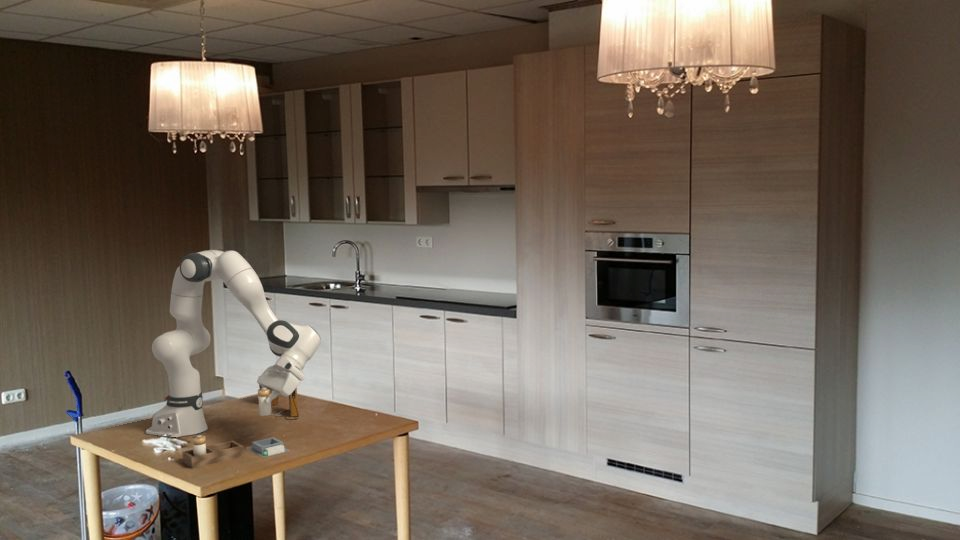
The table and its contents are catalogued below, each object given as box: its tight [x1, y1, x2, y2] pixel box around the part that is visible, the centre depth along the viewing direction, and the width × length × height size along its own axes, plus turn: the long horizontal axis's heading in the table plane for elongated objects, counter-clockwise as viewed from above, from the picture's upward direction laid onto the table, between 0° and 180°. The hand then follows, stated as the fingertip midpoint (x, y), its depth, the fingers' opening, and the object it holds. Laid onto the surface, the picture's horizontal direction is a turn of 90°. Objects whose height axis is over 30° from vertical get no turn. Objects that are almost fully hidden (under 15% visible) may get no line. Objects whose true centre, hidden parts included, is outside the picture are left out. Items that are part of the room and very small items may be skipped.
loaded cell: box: [192, 434, 207, 456], centre depth 278 cm, size 4×4×9 cm
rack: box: [182, 440, 245, 469], centre depth 282 cm, size 18×8×4 cm, turn 129°
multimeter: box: [274, 386, 299, 421], centre depth 334 cm, size 15×10×20 cm
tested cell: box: [257, 388, 273, 417], centre depth 289 cm, size 4×4×9 cm
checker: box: [246, 436, 291, 458], centre depth 290 cm, size 10×14×4 cm
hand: (262, 400), depth 288 cm, fingers closed on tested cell, 4 cm apart
